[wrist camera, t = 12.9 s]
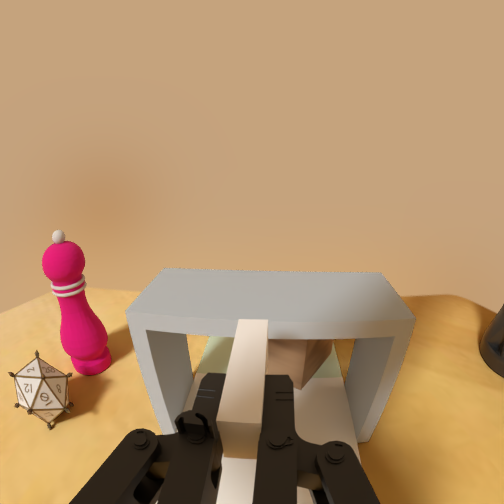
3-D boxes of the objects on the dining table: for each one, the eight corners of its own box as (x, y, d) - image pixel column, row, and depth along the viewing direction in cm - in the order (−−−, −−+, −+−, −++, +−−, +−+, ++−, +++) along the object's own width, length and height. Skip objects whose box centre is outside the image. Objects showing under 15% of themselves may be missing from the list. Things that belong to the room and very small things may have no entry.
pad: (344, 390, 32) (344, 387, 32) (193, 385, 33) (192, 383, 33) (331, 337, 43) (331, 334, 43) (211, 334, 45) (211, 331, 45)
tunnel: (390, 564, 9) (515, 489, 4) (120, 551, 11) (3, 467, 6) (352, 379, 34) (376, 267, 29) (186, 374, 35) (169, 262, 30)
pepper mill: (114, 345, 40) (87, 220, 34) (115, 374, 34) (79, 232, 28) (73, 351, 37) (40, 228, 31) (69, 380, 31) (24, 242, 25)
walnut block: (300, 390, 32) (310, 314, 28) (254, 369, 36) (254, 296, 32) (331, 353, 39) (341, 283, 35) (289, 338, 43) (293, 272, 39)
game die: (63, 420, 28) (52, 351, 31) (96, 431, 25) (82, 349, 28) (10, 426, 20) (-3, 348, 23) (33, 442, 17) (15, 347, 20)
